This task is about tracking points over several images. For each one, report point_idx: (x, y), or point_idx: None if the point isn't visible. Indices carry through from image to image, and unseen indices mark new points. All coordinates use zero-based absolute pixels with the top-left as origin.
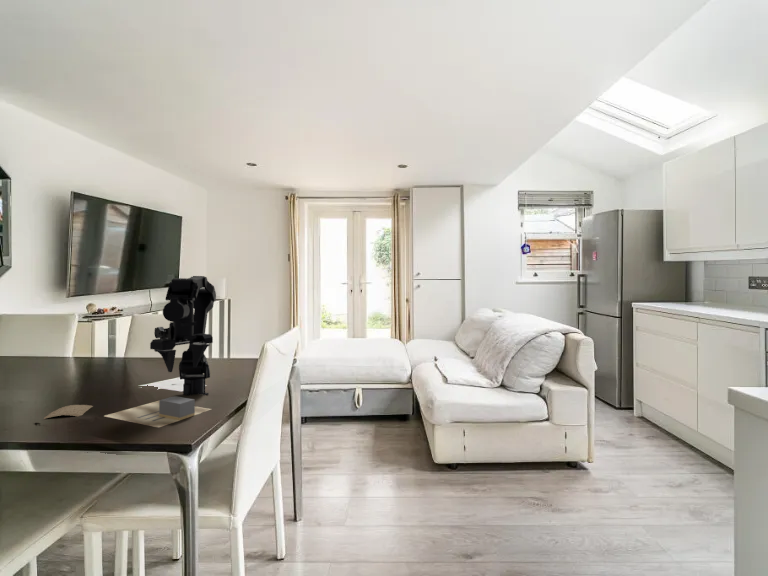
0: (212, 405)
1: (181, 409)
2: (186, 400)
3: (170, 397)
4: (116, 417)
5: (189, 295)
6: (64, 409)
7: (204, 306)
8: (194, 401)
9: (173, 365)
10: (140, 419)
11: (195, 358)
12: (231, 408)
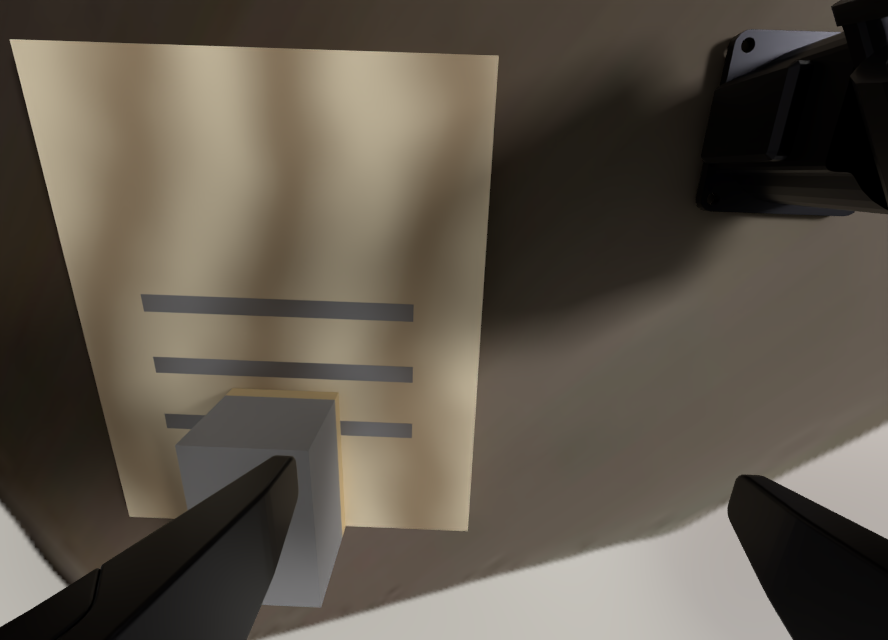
0: (594, 422)
1: None
2: (277, 584)
3: (267, 454)
4: (60, 169)
5: None
6: None
7: None
8: (323, 594)
9: (253, 618)
10: (138, 342)
11: (849, 631)
12: (577, 540)
